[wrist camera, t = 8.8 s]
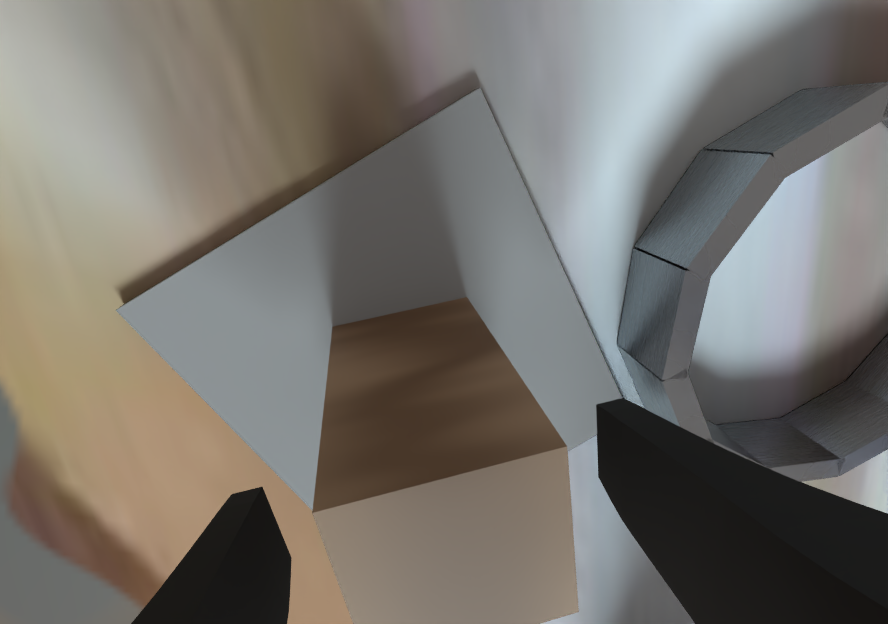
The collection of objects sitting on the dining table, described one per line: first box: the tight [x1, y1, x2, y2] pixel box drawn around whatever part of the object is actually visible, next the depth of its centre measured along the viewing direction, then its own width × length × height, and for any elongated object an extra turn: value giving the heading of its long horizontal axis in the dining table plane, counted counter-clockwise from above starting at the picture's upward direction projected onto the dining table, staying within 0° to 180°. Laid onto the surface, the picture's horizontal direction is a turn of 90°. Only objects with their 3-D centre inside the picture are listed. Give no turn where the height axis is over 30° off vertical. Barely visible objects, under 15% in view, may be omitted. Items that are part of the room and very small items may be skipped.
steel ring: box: [617, 82, 888, 482], centre depth 15 cm, size 13×13×2 cm
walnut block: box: [312, 297, 579, 624], centre depth 11 cm, size 4×4×7 cm
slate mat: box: [116, 88, 622, 511], centre depth 14 cm, size 12×11×1 cm
